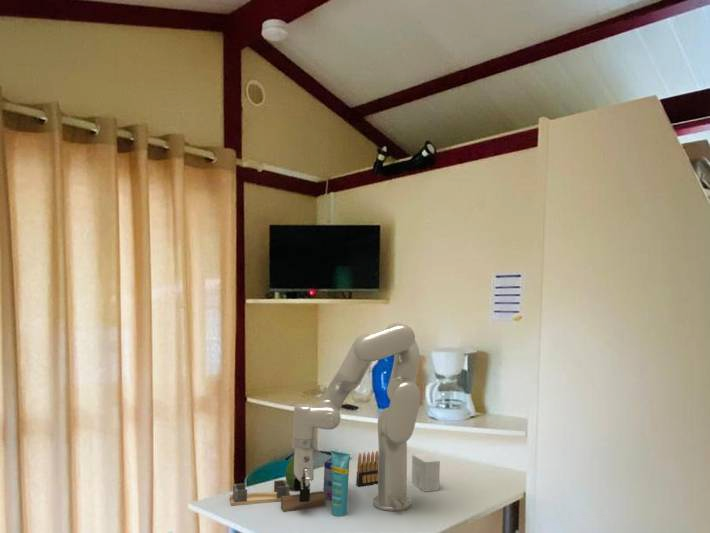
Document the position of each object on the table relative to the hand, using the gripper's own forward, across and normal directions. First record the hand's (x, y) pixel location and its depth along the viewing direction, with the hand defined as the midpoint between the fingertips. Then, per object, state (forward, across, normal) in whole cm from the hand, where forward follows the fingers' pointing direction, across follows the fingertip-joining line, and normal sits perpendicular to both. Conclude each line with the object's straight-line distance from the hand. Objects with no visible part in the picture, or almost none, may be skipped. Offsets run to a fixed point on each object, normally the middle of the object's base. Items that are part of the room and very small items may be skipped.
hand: (301, 495), depth 177 cm
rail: (+4, +10, +12) cm, 16 cm away
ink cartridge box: (+4, +8, -14) cm, 16 cm away
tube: (+4, -8, -11) cm, 14 cm away
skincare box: (+3, +8, -48) cm, 49 cm away
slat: (+4, 0, -1) cm, 4 cm away
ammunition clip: (+3, +15, -29) cm, 33 cm away
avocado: (+4, +18, -2) cm, 18 cm away
